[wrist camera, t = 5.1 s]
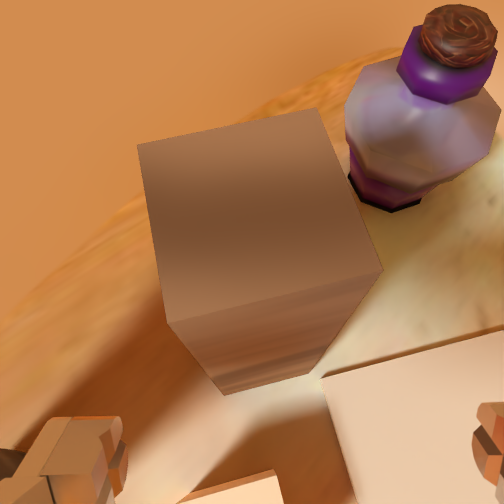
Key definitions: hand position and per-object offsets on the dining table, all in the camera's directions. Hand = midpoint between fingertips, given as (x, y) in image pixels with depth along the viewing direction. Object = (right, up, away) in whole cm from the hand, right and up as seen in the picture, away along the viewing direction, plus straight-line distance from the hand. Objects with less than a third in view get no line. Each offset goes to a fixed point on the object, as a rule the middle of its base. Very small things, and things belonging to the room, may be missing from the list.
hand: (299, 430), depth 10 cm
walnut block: (-1, -1, +15) cm, 15 cm away
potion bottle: (+9, +9, +20) cm, 24 cm away
